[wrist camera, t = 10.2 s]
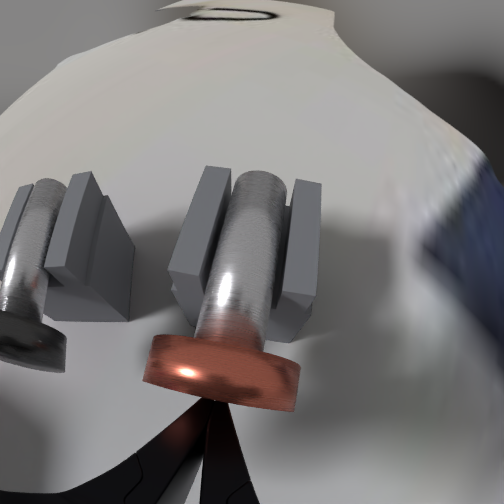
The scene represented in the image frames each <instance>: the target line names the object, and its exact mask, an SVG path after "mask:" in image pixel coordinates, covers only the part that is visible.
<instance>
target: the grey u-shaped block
mask: <svg viewBox="0 0 504 504" xmlns="http://www.w3.org/2000/svg"><path fill="white" fill-rule="evenodd" d="M33 188H34V185H33V184H29V185H25V186H21V187H19V189H18V191H17V193H16V195H15V198H14V200H13V202H12V205H11V207H10V209H9V212H8V214H7V217H6V219H5V222H4V225H3V227H2V230H1V233H0V280H1V281H2V280H3V276H4V272H5V268H6V264H7V261H8V257H9V254H10V250H11V247H12V244H13V241H14V237H15V234H16V232H17V229H18V226H19V223H20V220H21V217H22V215H23V212H24V210H25V207H26V205H27V202H28V200H29V197H30V195H31V192H32V190H33ZM134 249H135V246H134V245H133V243H132V241H131V239H130V237H129V235H128V233H127V232H126V230H125V228H124V226H123V224H122V222H121V220H120V218H119V216H118V214H117V212H116V210H115V208H114V206H113V204H112V202H111V200H110V198H109V196H108V195H106V196H103V194H102V192H101V190H100V188H99V186H98V184H97V182H96V180H95V178H94V176H93V174H92V171H90V172H84V173H79V174H74V175H72V178H71V180H70V183H69V186H68V188H67V191H66V194H65V197H64V199H63V202H62V205H61V208H60V211H59V214H58V217H57V221H56V224H55V227H54V230H53V234H52V237H51V241H50V245H49V249H48V252H47V256H46V261H45V265H44V268H45V269H46V270H47V271H48V272H49V273H50V276H49V281H48V287H47V292H46V298H45V304H44V311H43V314H45V315H47V316H48V317H50V318H51V319H53V320H54V321H82V322H129V306H130V291H131V279H132V268H133V258H134Z"/></svg>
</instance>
